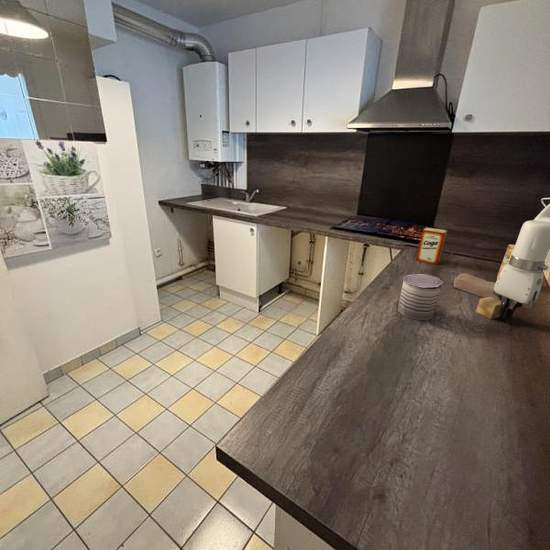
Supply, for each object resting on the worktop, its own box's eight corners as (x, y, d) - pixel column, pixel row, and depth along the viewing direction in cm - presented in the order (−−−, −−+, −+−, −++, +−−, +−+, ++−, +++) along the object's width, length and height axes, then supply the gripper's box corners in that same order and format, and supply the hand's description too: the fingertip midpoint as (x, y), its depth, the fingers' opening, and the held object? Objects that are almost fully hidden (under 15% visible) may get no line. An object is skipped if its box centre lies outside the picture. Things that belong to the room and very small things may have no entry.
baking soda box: (416, 260, 145) (422, 229, 139) (419, 257, 150) (426, 226, 144) (436, 264, 140) (444, 232, 134) (439, 261, 145) (447, 229, 138)
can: (427, 324, 90) (436, 289, 85) (391, 311, 97) (398, 278, 93) (438, 311, 98) (447, 278, 93) (404, 300, 105) (410, 269, 100)
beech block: (500, 316, 96) (505, 303, 94) (490, 319, 94) (495, 305, 92) (485, 309, 100) (490, 296, 98) (475, 311, 98) (480, 298, 96)
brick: (507, 296, 109) (511, 285, 107) (500, 303, 104) (505, 291, 102) (460, 282, 121) (463, 272, 119) (451, 287, 116) (454, 277, 114)
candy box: (496, 277, 126) (507, 244, 120) (508, 279, 124) (520, 245, 118) (500, 285, 119) (512, 249, 113) (512, 287, 117) (526, 251, 111)
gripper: (563, 271, 80) (538, 327, 87) (506, 254, 93) (488, 305, 100) (547, 274, 77) (523, 332, 84) (491, 256, 90) (473, 308, 97)
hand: (504, 317), depth 92 cm, fingers closed
